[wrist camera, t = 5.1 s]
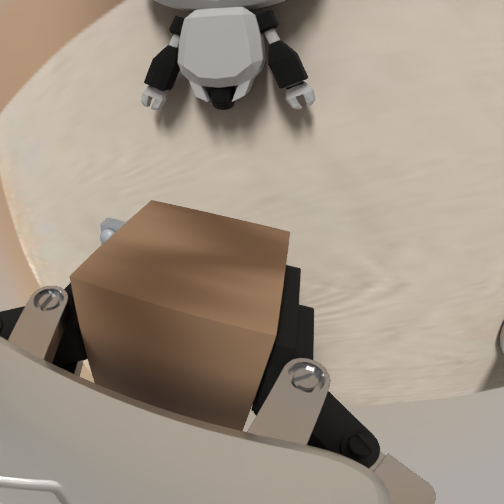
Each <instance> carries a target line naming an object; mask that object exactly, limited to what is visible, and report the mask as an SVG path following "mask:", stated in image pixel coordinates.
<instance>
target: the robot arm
mask: <svg viewBox="0 0 504 504" xmlns="http://www.w3.org/2000/svg"><path fill="white" fill-rule="evenodd" d="M300 274H301V269H300V268H297V267H292V266H288V265H286V268H285V276H284V284H283V291H282V299H281V306H280V313H279V320H278V327H277V334H276V338H275V341H274V344H273V347H272V350H271V353H270V356H269V358H268V361H267V364H266V367H265V370H264V373H263V376H262V378H261V381H260V384H259V387H258V390H257V392H256V395H255V398H254V401H253V405H252V411H254V413H255V415H256V418H255V419H254V421H253V423H252V425H251V427H250V428H249V430H248V431H247V432H243V431H239V430H235V429H231V428H227V427H223V426H219V425H215V424H211V423H208V422H204V421H200V420H197V419H193V418H190V417H187V416H183V415H180V414H177V413H174V412H171V411H167V410H164V409H161V408H158V407H155V406H152V405H150V404H147V403H144V402H141V401H138V400H135V399H133V398H130V397H127V396H125V395H122V394H120V393H117V392H114V391H112V390H109V389H107V388H105V387H102V386H100V385H97V384H95V383H93V382H90V381H88V380H85V379H83V378H81V377H80V373H81V369H82V365H83V360H86V359H88V358H87V354H86V350H85V346H84V342H83V338H82V334H81V330H80V326H79V321H78V317H77V312H76V307H75V302H74V297H73V292H72V286H71V283H70V284H69V285H68V286H67V287H66V288H65V289H62V288H61V287H58V286H46V287H42V288H40V289H38V290H37V291H35V292H34V293H33V294H32V296H31V297H30V299H29V301H28V302H27V304H26V306H24V307H20V308H15V309H11V310H7V311H2V312H0V504H434V503H435V500H436V498H435V497H436V493H435V491H434V489H433V487H432V486H431V485H430V484H429V483H428V482H427V481H425V480H424V479H423V478H421V477H420V476H418V475H417V474H416V473H414V472H413V471H412V470H410V469H409V468H407V467H406V466H405V465H403V464H402V463H401V462H399V461H398V460H397V459H395V458H394V457H393V456H391V455H390V454H387V455H384V454H383V453H382V452H381V451H380V446H379V443H378V441H377V439H376V438H375V437H374V435H373V434H372V433H371V432H370V431H369V430H368V429H367V428H366V427H365V426H363V425H362V424H361V423H360V422H359V421H358V420H357V419H356V418H355V417H354V416H353V415H352V414H351V413H350V412H349V411H348V410H347V409H346V408H345V407H344V406H343V405H342V404H341V403H340V402H339V401H338V400H337V399H336V398H335V397H334V396H333V395H332V394H331V393H330V392H329V391H328V390H329V387H330V381H331V380H330V376H329V373H328V372H327V370H326V369H325V368H324V367H323V366H322V365H321V364H319V363H318V362H316V361H314V360H313V344H314V309H313V308H311V307H307V306H303V305H299V291H300ZM500 347H501V349H502V351H503V353H504V324H503V327H502V329H501V334H500Z"/></svg>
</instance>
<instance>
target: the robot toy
mask: <svg viewBox="0 0 504 504" xmlns="http://www.w3.org/2000/svg"><path fill="white" fill-rule="evenodd" d="M153 1H156V2H158V3H160V4H162V5H165V6H168V7H171V8H175V9H179V10H186V11H193V12H192V13H191V14H190V15H188V16H187V17H186V18H185V19H184V18H181V17H178V16H175V18H174V20H173V22H172V25H171V27H170V29H169V30H170V32H171V33H173V36H172V38H171V41H170V43H169V45H168V46H167V47H165V48H164V49H163V50H162V51H161V52H160V53H159V54H158V55H157V56H156V57H155V58H154V59H153V60H152V63H151V65H150V68H149V70H148V73H147V76H146V78H145V81H144V83H145V84H148V85H149V86H148V87H147V88H146V89H145V90H144V91H143V93H142V101H141V102H142V104H143V105H144V106H146V107H148V106H150V103H151V100H152V98H155V100H154V102H153V105H152V107H151V109H153V110H158V109H161V108H162V107H163V105H164V104H165V102H166V101H167V100H166V90H171V89H172V88H173V85H174V83H175V80H176V78H177V76H178V73H179V71H180V70H181V72H182V75H183V76H184V77H186V78H187V79H188V80H189V82H190V85H191V87H192V89H193V92H194V94H195V96H196V97H198V98H200V99H202V100H204V101H206V102H209V101H211V100H212V104H213V106H214V107H215V108H217V109H221V110H227V109H230V108H231V107H233V105H234V102H235V100H237V99H239V98H241V97H243V96H245V95H246V94H247V93H249V92H250V89H251V87H252V84H253V82H254V79H255V77H256V76H257V75H258V74H259V73H260V72H261V71H262V69H263V66H264V64H265V61H266V53H265V44H264V38H263V34H264V35H265V37H266V39H267V41H268V43H269V52H268V65H269V67H270V69H271V71H272V73H273V75H274V77H275V79H276V81H277V84H278V86H279V88H284V87H286V92H285V100H286V102H287V103H288V104H289V106H290V107H291V108H293V109H297V110H298V109H301V108H302V106H301V105H300V103H299V101H298V99H297V97H296V96H299V95H302V94H303V95H304V97H305V100H306V105H307V106H310V105H312V104H313V102H314V100H315V96H314V90H313V89H312V88H311V87H310V86H309V85H308V84H307V83H305V82H304V81H303V80H306V79H307V78H308V76H307V73H306V71H305V69H304V67H303V65H302V62H301V60H300V58H299V56H298V54H297V53H296V52H295V51H294V50H293V49H292V48H290V47H289V46H288V45H287V44H285V43H284V42H282V41H281V40H280V38H279V36H278V34H277V32H276V30H275V29H276V28H277V27H278V25H279V24H278V22H277V20H276V18H275V16H274V14H273V12H272V11H266V12H263V13H260V14H258V15H255V14H253V13H252V12H250V11H249V10H251V9H258V8H262V7H266V6H271V5H275V4H278V3H281V2H284V1H286V0H153ZM236 85H238V87H237V89H236V92H235V86H236Z"/></svg>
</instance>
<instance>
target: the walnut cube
mask: <svg viewBox="0 0 504 504" xmlns="http://www.w3.org/2000/svg"><path fill="white" fill-rule="evenodd" d="M289 237H290V232H288V231H284V230H280V229H276V228H272V227H268V226H264V225H259V224H255V223H251V222H247V221H242V220H238V219H234V218H229V217H225V216H221V215H216V214H212V213H208V212H203V211H199V210H194V209H190V208H185V207H181V206H176V205H172V204H167V203H162V202H158V201H153V200H151V201H150V202H149V203H148V204H147V205H146V206H144V207H143V208H142V209H141V210H140V211H139V212H138V213H136V214H135V215H134V216H133V217H132V218H131V219H130V220H129V221H127V222H126V223H125V224H124V225H123V226H122V227H121V228H120V229H119V230H117V231H116V232H115V233H114V234H113V235H112V236H111V237H110V238H109V239H108V240H107V241H106V242H104V243H103V244H102V245H101V246H100V247H99V248H98V249H97V250H96V251H95V252H94V253H93V254H92V255H91V256H90V257H89V258H88V259H87V260H86V261H85V262H84V263H83V264H82V265H81V266H80V267H78V268H77V269H76V270H75V271H74V272H73V273H72V274H71V275H70V281H71V286H72V292H73V297H74V302H75V307H76V312H77V317H78V321H79V326H80V330H81V334H82V338H83V342H84V346H85V350H86V354H87V358H88V361H89V365H90V368H91V372H92V375H93V378H94V382H95V384H97V385H100V386H102V387H105V388H107V389H109V390H112V391H114V392H117V393H120V394H122V395H125V396H127V397H130V398H133V399H135V400H138V401H141V402H144V403H147V404H150V405H152V406H155V407H158V408H161V409H164V410H167V411H171V412H174V413H177V414H180V415H183V416H187V417H190V418H193V419H197V420H200V421H204V422H208V423H211V424H215V425H219V426H223V427H227V428H231V429H235V430H239V431H242V430H243V428H244V425H245V422H246V420H247V417H248V414H249V412H250V409H251V406H252V403H253V401H254V398H255V395H256V392H257V390H258V387H259V384H260V381H261V378H262V376H263V373H264V370H265V367H266V364H267V361H268V358H269V356H270V353H271V350H272V347H273V344H274V341H275V338H276V334H277V327H278V320H279V313H280V306H281V299H282V291H283V284H284V276H285V268H286V261H287V253H288V245H289Z"/></svg>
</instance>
